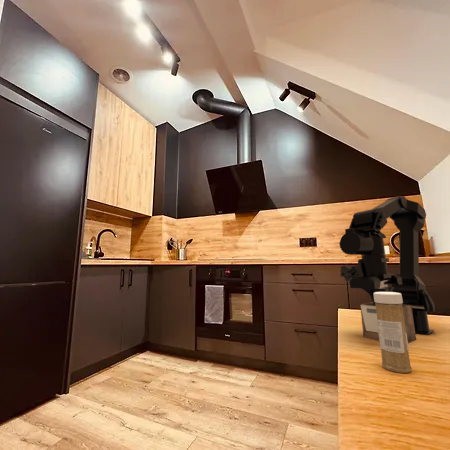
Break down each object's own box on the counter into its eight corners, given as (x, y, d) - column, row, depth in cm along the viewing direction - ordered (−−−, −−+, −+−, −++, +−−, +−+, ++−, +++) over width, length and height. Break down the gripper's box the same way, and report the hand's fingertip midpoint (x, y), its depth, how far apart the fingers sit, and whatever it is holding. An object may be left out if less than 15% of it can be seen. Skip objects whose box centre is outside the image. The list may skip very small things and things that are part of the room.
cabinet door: (367, 329, 67) (362, 304, 68) (401, 335, 61) (395, 307, 61) (365, 331, 67) (360, 305, 67) (399, 337, 60) (393, 309, 61)
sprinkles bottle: (416, 370, 44) (405, 292, 47) (405, 376, 42) (394, 293, 44) (388, 362, 48) (380, 291, 50) (376, 367, 45) (368, 292, 48)
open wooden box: (376, 332, 72) (373, 302, 73) (416, 339, 64) (411, 305, 66) (363, 336, 67) (360, 304, 69) (404, 344, 60) (400, 308, 61)
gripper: (359, 256, 79) (365, 307, 77) (326, 256, 68) (332, 315, 66) (398, 254, 71) (407, 311, 68) (369, 253, 60) (378, 321, 57)
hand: (380, 314), depth 65 cm, fingers closed
